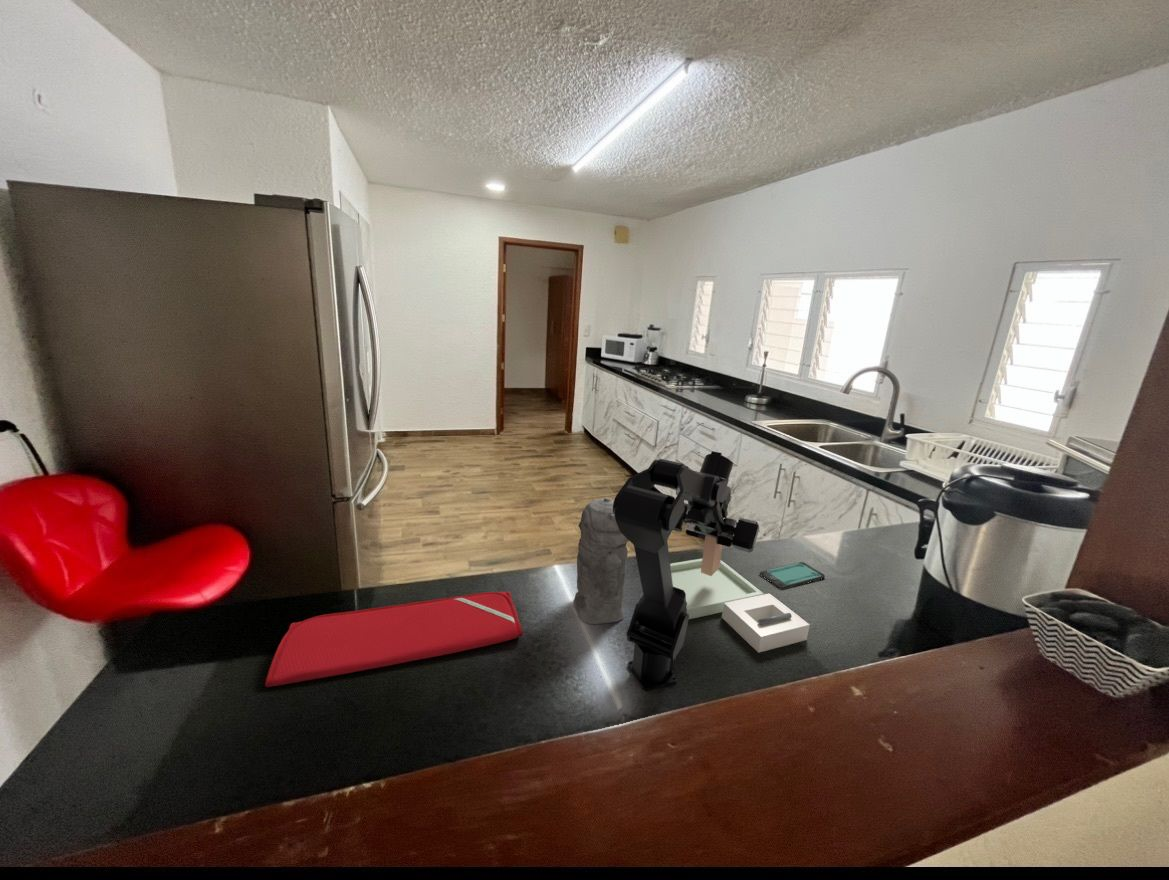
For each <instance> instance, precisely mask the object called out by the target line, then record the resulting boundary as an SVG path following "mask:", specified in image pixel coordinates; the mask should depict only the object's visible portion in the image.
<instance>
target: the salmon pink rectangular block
mask: <svg viewBox="0 0 1169 880" xmlns="http://www.w3.org/2000/svg"><path fill="white" fill-rule="evenodd" d="M718 538H719V535H718V537H717V538H714V537H710V536H707V535H705V540H704V545H703V551H702V558H701V559H702V566H701V573H704V574H706V575H709V576H712V575H713V574H714V573H715V572H716V571H717V570H718V569H719V568H720V561H721V559H722V551H723V545H720V544H717V541H718Z"/></svg>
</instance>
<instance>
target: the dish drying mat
mask: <svg viewBox="0 0 1169 880" xmlns="http://www.w3.org/2000/svg"><path fill="white" fill-rule="evenodd" d="M522 628H523V627H522V625H521V623H520V620H519V616H518V613H517V609H516V606H515V604H514V603H513V599H512V595H511V591H501V592H500V591H488V592H487V591H486V592H479V593H471V594H470V593H469V594H467V595H459V596H453V597H451V596H450V597H446V598H436V599H429V600H423V601H416V602H409V603H403V604H396V605H388V606H387V605H386V606H379V607H374V608H373V607H372V608H364V609H359V610H351V611H350V610H349V611H344V612H334V613H326V614H322V615H315V616H312V617H310V618H307V619H304V620H302V621H298V622H292V623H290V625H289V626H288V630H287V632H286V633H285V634H284V635H283V637H282V638H281V641H280V643H279V644H278V646H277V648H276V651H275V653H274V655H273V659H272V660H271V662H270V663H271V664H270V665H269V669H268V672H267V674H266V675H267V676H266V677H265V683H264V684H265V685H264V686H265V687H266V688H271V687H277V686H283V685H287V684H294V683H295V684H296V683H300V682H306V681H312V680H317V679H323V678H328V677H335V676H341V675H346V674H351V673H356V672H362V671H367V670H371V669H379V668H382V667H383V668H384V667H389V666H393V665H398V664H399V665H400V664H404V663H407V662H408V663H409V662H412V661H418V660H425V659H429V658H435V657H439V656H445V655H449V654H450V655H451V654H455V653H460V652H464V651H469V650H474V649H478V648H483V647H487V646H492V645H496V644H500V643H504V642H507V641H511V640H514V639H517V638H519V637H522V636H523V629H522Z"/></svg>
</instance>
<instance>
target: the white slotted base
mask: <svg viewBox="0 0 1169 880" xmlns="http://www.w3.org/2000/svg"><path fill="white" fill-rule="evenodd" d="M721 618H722V619H723V620H724V621H725V622H726V623H727V624H728V625H729V626H730V627H731V628H732V629H733V630H734V631H735V632H736V633H737V634H738V635H740V637H741V638H742V639H743V640H744V641H746V643H748V644H749V645H750V646H751V647H752V648H753V649H754V650H755V651H756V652H757V653H762V652H766V651H770V650H775V649H777V648H781V647H782V648H783V647H787V646H789V645H792V644H796V643H801V642H804V641H807V640H808V634H809V631H810V625H811V624H810V623H809V622H807V621H806V620H804V619H803V618H802V617H801V616H799V615H798V614H797V613H795V611H793V610H792V609H790V608H789V607H788V606H786V605H785V604H784V603H782V601H780V600H778V598H776V597H775V596H773V595H772V594H771V593H764V595H759V596H754V597H749V598H745V599H740V600H735V601H730V602H726V603H724V606H723V612H721Z"/></svg>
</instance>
